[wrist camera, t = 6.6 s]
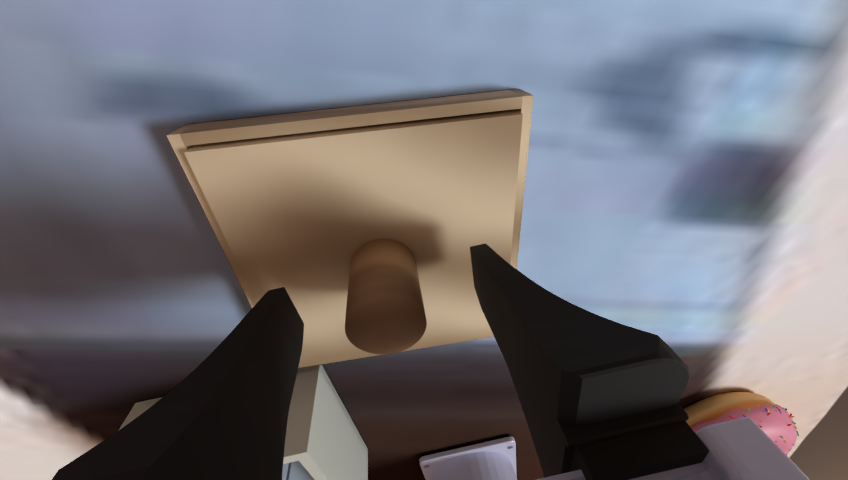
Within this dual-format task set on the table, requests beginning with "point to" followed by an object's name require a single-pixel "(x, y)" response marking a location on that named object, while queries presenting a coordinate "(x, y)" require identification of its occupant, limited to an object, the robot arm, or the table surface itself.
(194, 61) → the table surface
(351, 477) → the storage box
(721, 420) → the doughnut
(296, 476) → the block
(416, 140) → the lid
